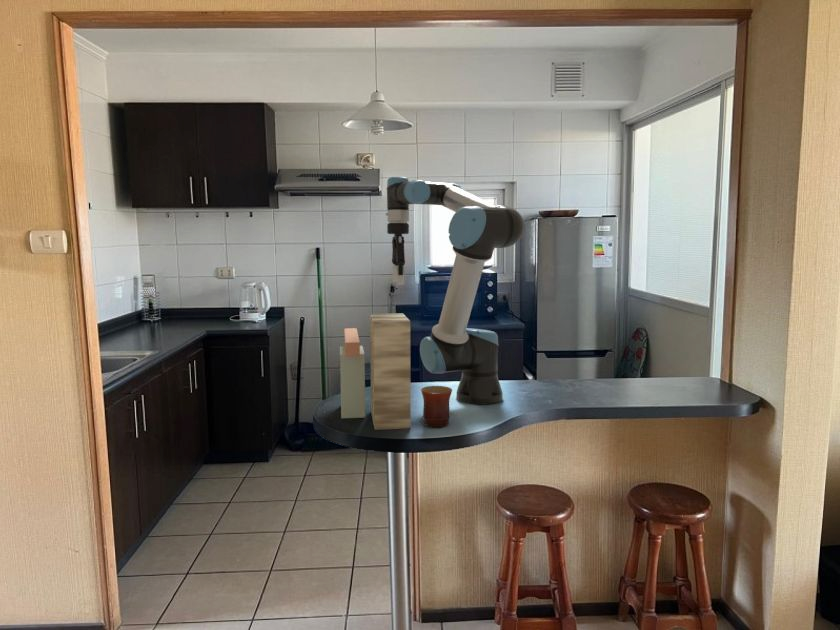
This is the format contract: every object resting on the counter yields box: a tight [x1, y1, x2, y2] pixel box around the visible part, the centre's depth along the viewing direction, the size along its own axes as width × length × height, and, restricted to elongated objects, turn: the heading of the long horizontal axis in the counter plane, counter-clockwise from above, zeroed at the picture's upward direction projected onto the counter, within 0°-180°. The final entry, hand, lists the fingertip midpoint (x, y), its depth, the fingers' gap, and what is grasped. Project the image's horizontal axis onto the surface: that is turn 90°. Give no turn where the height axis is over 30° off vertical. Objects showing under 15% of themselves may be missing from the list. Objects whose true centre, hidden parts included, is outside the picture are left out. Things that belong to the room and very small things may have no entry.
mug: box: [420, 385, 453, 429], centre depth 171 cm, size 12×9×10 cm
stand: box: [369, 313, 412, 431], centre depth 173 cm, size 18×10×30 cm, turn 8°
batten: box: [343, 327, 361, 356], centre depth 185 cm, size 28×4×4 cm, turn 8°
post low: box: [339, 345, 366, 419], centre depth 182 cm, size 14×7×19 cm, turn 8°
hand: (398, 283), depth 212 cm, fingers open, 13 cm apart
